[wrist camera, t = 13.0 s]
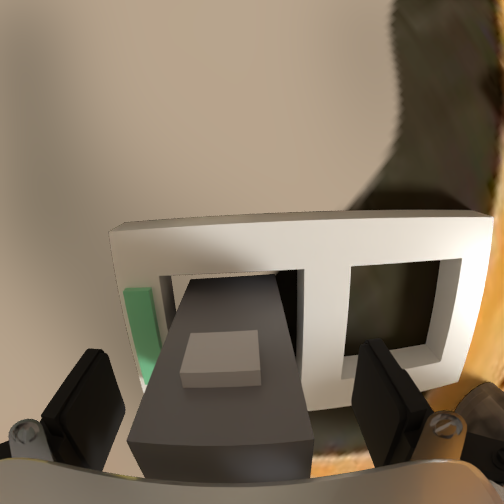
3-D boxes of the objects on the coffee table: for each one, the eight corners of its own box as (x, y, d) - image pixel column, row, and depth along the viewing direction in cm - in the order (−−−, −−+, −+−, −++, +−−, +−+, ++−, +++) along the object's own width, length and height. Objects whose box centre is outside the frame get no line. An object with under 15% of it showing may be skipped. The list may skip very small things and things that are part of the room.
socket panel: (124, 222, 14) (104, 234, 12) (471, 210, 15) (498, 218, 12) (157, 391, 17) (148, 418, 15) (443, 364, 17) (461, 385, 15)
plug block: (189, 269, 15) (119, 425, 6) (274, 264, 15) (315, 423, 6) (200, 349, 16) (169, 518, 7) (277, 345, 16) (304, 516, 7)
